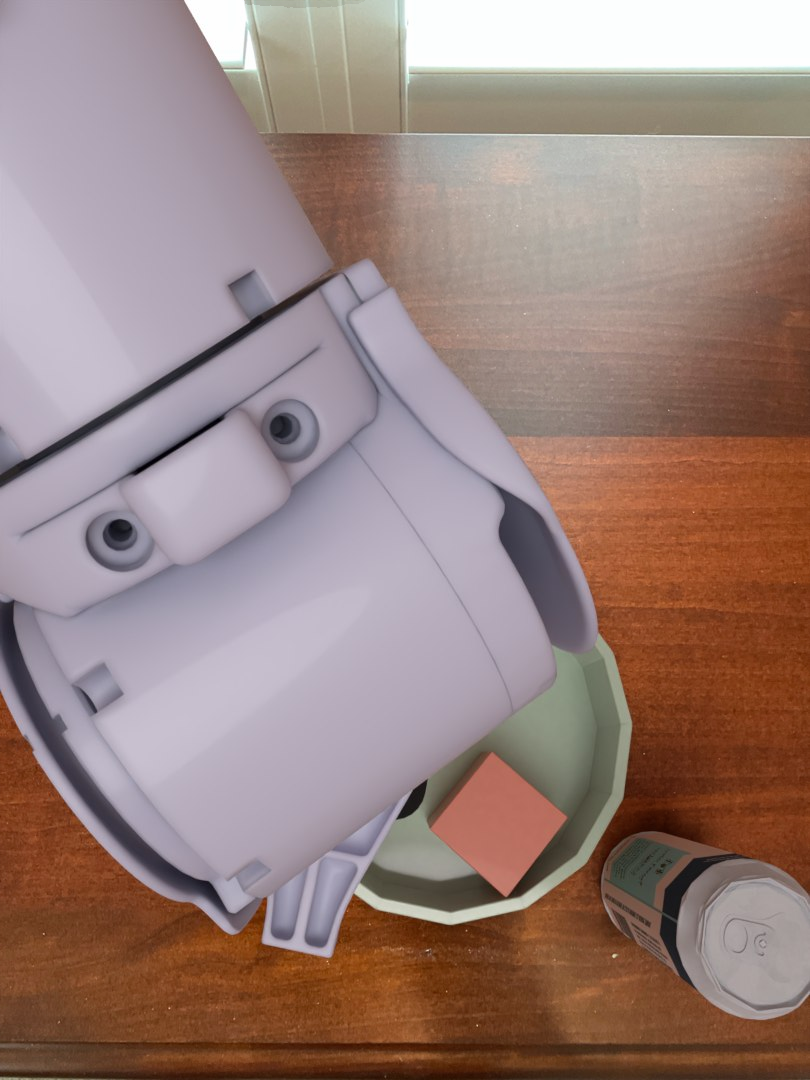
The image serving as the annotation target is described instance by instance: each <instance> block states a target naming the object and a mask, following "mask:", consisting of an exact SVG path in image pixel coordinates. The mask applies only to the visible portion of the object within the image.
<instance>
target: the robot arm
mask: <svg viewBox="0 0 810 1080" xmlns="http://www.w3.org/2000/svg"><path fill="white" fill-rule="evenodd" d="M334 266H335V264H334V262H333V260H332V258H331V257H330V255H329V253H328V251H327V250H326V247H325V246H324V244H323V242H322V241H321V239H320V237H319V236H318V234H317V232H316V230H315V228H314V226H313V224H312V223H311V221H310V220H309V218H308V215H307V214H306V213H305V211H304V209H303V207H302V205H301V203H300V202H299V200H298V199H297V196H296V195H295V193H294V191H293V189H292V188H291V186H290V185H289V183H288V181H287V179H286V177H285V175H284V174H283V172H282V170H281V169H280V167H279V165H278V164H277V162H276V160H275V158H274V156H273V154H272V153H271V151H270V149H269V148H268V146H267V144H266V142H265V141H264V139H263V137H262V135H261V133H260V132H259V130H258V128H257V125H256V124H255V123H254V121H253V119H252V117H251V116H250V114H249V112H248V110H247V109H246V107H245V105H244V103H243V101H242V100H241V97H240V96H239V95H238V93H237V91H236V89H235V88H234V86H233V84H232V82H231V80H230V79H229V77H228V75H227V73H226V71H225V70H224V68H223V66H222V64H221V63H220V61H219V59H218V58H217V56H216V54H215V52H214V50H213V49H212V47H211V45H210V43H209V41H208V40H207V38H206V36H205V35H204V32H203V31H202V30H201V28H200V25H199V24H198V22H197V20H196V19H195V17H194V15H193V14H192V12H191V10H190V9H189V7H188V5H187V3H186V1H185V0H0V692H1V693H0V694H1V695H2V697H3V699H4V701H5V705H6V706H7V709H8V711H9V712H10V715H11V717H12V719H13V720H14V723H15V724H16V726H17V728H18V730H19V732H20V734H21V736H22V738H24V739H25V740H26V741H27V742H28V743H29V745H30V747H31V748H32V752H31V753H32V754H33V757H34V758H35V760H36V761H37V763H38V764H39V766H40V768H41V769H42V770H43V772H44V773H45V775H46V776H47V778H48V779H49V781H50V782H51V784H52V785H53V787H54V788H55V789H56V791H57V792H58V794H59V795H60V796H61V798H62V799H63V800H64V803H65V804H66V805H67V806H68V808H69V809H70V810H71V811H72V813H73V814H74V815H75V816H76V817H77V818H78V820H79V821H80V822H81V823H82V825H83V826H84V827H85V828H86V830H87V831H88V833H90V834H91V835H92V836H93V837H94V839H95V840H96V841H97V842H98V844H100V846H102V848H104V850H105V851H106V852H107V853H108V854H109V855H110V856H111V857H112V858H113V859H114V860H115V861H117V863H118V864H119V865H120V866H121V867H122V868H124V869H125V870H126V871H127V872H128V873H130V874H131V875H132V876H133V877H134V878H135V879H137V880H138V881H140V883H142V884H143V885H144V886H146V887H147V888H149V890H152V891H153V892H155V893H156V894H159V895H160V896H162V897H164V898H166V899H169V900H172V901H173V902H179V903H191V904H193V905H195V906H196V907H197V908H199V909H200V910H202V911H203V912H204V913H205V914H206V915H207V916H208V917H209V918H210V919H211V920H212V921H213V922H214V923H215V924H216V925H217V926H218V927H219V928H220V929H221V930H222V931H224V932H225V933H227V934H228V935H232V936H234V935H238V934H239V933H241V932H242V931H243V930H244V929H245V927H246V926H247V925H248V924H249V922H250V921H251V920H252V918H253V917H254V916H255V915H256V912H257V911H258V909H259V907H260V906H261V904H262V902H263V900H264V898H266V911H265V919H264V923H263V931H262V935H261V943H262V944H263V945H265V946H271V947H276V948H281V949H285V950H290V951H294V952H299V953H304V954H307V955H312V956H318V957H323V958H327V959H330V958H332V957H333V954H334V951H335V949H336V945H337V942H338V939H339V933H340V929H341V924H342V920H343V918H344V915H345V913H346V910H347V908H348V905H349V903H350V902H351V900H352V898H353V896H354V895H355V894H354V892H355V890H356V888H357V886H358V884H359V883H360V881H361V879H362V877H363V876H364V874H365V872H366V870H367V869H368V867H369V865H370V863H371V862H372V860H373V858H374V857H375V855H376V853H377V851H378V850H379V848H380V846H381V844H382V843H383V841H384V839H385V837H386V836H387V834H388V832H389V831H390V829H391V827H392V825H393V824H394V822H395V820H398V819H403V818H406V817H408V816H410V815H412V814H413V813H414V812H415V811H416V810H417V809H418V808H419V806H420V805H421V803H422V802H423V799H424V796H425V792H426V787H427V781H428V778H429V777H431V776H432V775H433V774H435V773H436V772H437V771H439V770H440V769H441V768H443V767H444V766H446V765H447V764H448V763H450V762H451V761H452V760H454V759H455V758H456V757H458V756H459V755H460V754H462V753H463V752H464V751H466V750H467V749H468V748H470V747H471V746H473V745H474V744H475V743H477V742H478V741H479V740H481V739H482V738H483V737H485V736H486V735H487V734H489V733H490V732H491V731H493V730H494V729H495V728H497V727H498V726H500V725H501V724H502V723H504V722H505V721H506V720H508V719H509V718H510V717H512V716H513V715H514V714H516V713H517V712H518V711H520V710H521V709H522V708H524V707H525V706H526V705H528V704H529V703H531V702H532V701H533V700H535V699H536V698H537V697H539V696H540V695H541V694H543V693H544V692H545V691H547V690H548V689H549V688H551V687H552V686H553V685H554V683H555V680H556V677H557V666H556V661H555V656H554V652H553V648H552V645H553V646H555V647H557V648H559V649H561V650H563V651H566V652H569V653H572V654H584V653H587V652H589V651H590V650H591V649H592V648H593V647H594V646H595V643H596V641H597V636H598V632H599V623H598V615H597V609H596V606H595V602H594V599H593V595H592V592H591V589H590V586H589V582H588V580H587V577H586V575H585V573H584V570H583V568H582V565H581V563H580V561H579V558H578V556H577V553H576V551H575V550H574V547H573V546H572V544H571V542H570V540H569V537H568V536H567V534H566V531H565V530H564V528H563V525H562V524H561V521H560V520H559V517H558V515H557V512H556V511H555V509H554V507H553V505H552V503H551V501H550V499H549V498H548V496H547V495H546V493H545V491H544V490H543V488H542V487H541V485H540V483H539V482H538V480H537V479H536V477H535V475H534V474H533V473H532V470H531V469H530V468H529V467H528V465H527V464H526V462H525V460H524V459H523V458H522V456H521V455H520V453H519V452H518V449H516V447H515V446H514V444H513V443H512V442H511V440H510V439H509V438H508V437H507V435H506V434H505V433H504V431H503V430H502V428H501V427H500V426H499V425H498V423H497V422H496V420H495V419H494V418H493V417H492V415H491V414H490V413H489V412H488V410H487V409H486V408H485V406H484V405H483V404H482V403H481V402H480V400H479V399H478V398H477V396H475V395H474V393H473V391H472V390H470V389H469V388H468V386H467V385H466V384H465V383H464V382H463V380H462V379H460V377H459V376H458V375H457V374H456V373H455V372H454V371H453V370H452V369H451V367H449V366H448V364H447V363H446V362H445V361H444V360H443V359H442V358H441V356H440V355H439V354H438V353H437V351H436V350H435V349H434V348H433V347H432V345H431V344H430V343H429V342H428V340H427V339H426V337H425V336H424V334H423V333H422V332H421V331H420V329H419V327H418V326H417V324H416V323H415V321H414V320H413V318H412V317H411V315H410V313H409V311H408V310H407V308H406V306H405V304H404V303H403V301H402V299H401V298H400V296H399V294H398V292H397V290H396V288H395V287H394V286H392V285H391V286H390V285H389V284H388V283H387V282H386V280H385V279H384V278H383V275H382V274H381V272H380V270H379V269H378V267H377V266H376V265H375V263H374V262H373V260H371V259H369V258H368V257H366V258H363V259H361V260H358V261H356V262H354V263H352V264H350V265H347V266H345V267H343V268H340V269H338V270H336V271H333V272H331V273H330V274H327V275H325V276H323V277H321V276H322V275H324V274H325V273H327V272H328V271H329V270H331V269H332V268H333V267H334ZM319 277H320V278H319ZM551 644H552V645H551Z"/></svg>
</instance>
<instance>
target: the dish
mask: <svg viewBox="0 0 810 1080" xmlns="http://www.w3.org/2000/svg"><path fill="white" fill-rule="evenodd" d="M551 645H552V644H551ZM552 648H553V652H554V656H555V661H556V666H557V677H556V680H555V683H554V685H553V686H552V687H551V688H549V689H548V690H547V691H545V692H544V693H543V694H541V695H540V696H539V697H537V698H536V699H535V700H533V701H532V702H531V703H529V704H528V705H526V706H525V707H524V708H522V709H521V710H520V711H518V712H517V713H516V714H514V715H513V716H512V717H510V718H509V719H508V720H506V721H505V722H504V723H502V724H501V725H500V726H498V727H497V728H495V729H494V730H493V731H491V732H490V733H489V734H487V735H486V736H485V737H483V738H482V739H481V740H479V741H478V742H477V743H475V744H474V745H473V746H471V747H470V748H468V749H467V750H466V751H464V752H463V753H462V754H460V755H459V756H458V757H456V758H455V759H454V760H452V761H451V762H450V763H448V764H447V765H446V766H444V767H443V768H441V769H440V770H439V771H437V772H436V773H435V774H433V775H432V776H431V777H429V778H428V781H427V787H426V792H425V796H424V799H423V802H422V803H421V805H420V806H419V808H418V809H417V810H416V811H415V812H414V813H413V814H412V815H410V816H408V817H406V818H403V819H398V820H395V822H394V824H393V825H392V827H391V829H390V831H389V832H388V834H387V836H386V837H385V839H384V841H383V843H382V844H381V846H380V848H379V850H378V851H377V853H376V855H375V857H374V858H373V860H372V862H371V863H370V865H369V867H368V869H367V870H366V872H365V874H364V876H363V877H362V879H361V881H360V883H359V884H358V886H357V888H356V890H355V892H354V894H353V895H355V896H356V897H357V898H358V899H360V900H361V901H363V902H364V903H366V904H367V905H369V906H370V907H371V908H373V909H374V910H376V911H380V912H385V913H389V914H393V915H399V916H404V917H408V918H413V919H418V920H422V921H428V922H432V923H437V924H441V925H446V926H455V925H460V924H464V923H468V922H474V921H477V920H482V919H487V918H492V917H496V916H500V915H505V914H509V913H513V912H514V913H515V912H519V911H524V910H526V909H528V908H529V907H530V906H532V905H533V904H535V903H536V902H537V901H538V900H540V899H541V898H543V897H544V896H545V895H547V894H548V893H549V892H551V891H552V890H554V889H555V888H556V887H557V886H559V885H560V884H561V883H563V882H564V881H566V880H567V879H568V878H569V877H570V876H572V875H573V874H575V873H576V872H577V871H578V870H580V869H581V868H583V867H584V866H585V865H586V864H587V863H588V861H589V860H590V858H591V857H592V854H593V852H594V851H595V849H596V847H597V845H598V844H599V842H600V841H601V839H602V837H603V835H604V834H605V831H606V830H607V828H608V827H609V825H610V823H611V822H612V819H613V818H614V816H615V814H616V812H617V811H618V809H619V807H620V805H621V803H622V802H623V801H624V797H625V790H626V780H627V773H628V764H629V757H630V749H631V742H632V732H633V720H632V716H631V713H630V708H629V704H628V701H627V698H626V693H625V690H624V686H623V682H622V679H621V675H620V671H619V666H618V663H617V660H616V656H615V654H614V651H613V650H612V649H611V647H610V646H609V644H608V642H606V640H605V639H604V637H603V636H602V635H601V633H600V632H599V631H598V636H597V641H596V643H595V646H594V647H593V648H592V649H591V650H590V651H589V652H587V653H584V654H572V653H569V652H566V651H563V650H561V649H559V648H557V647H555V646H553V645H552ZM482 752H493V753H495V754H496V755H497V756H498V757H499V758H500V759H502V760H503V761H504V762H505V763H506V764H507V765H509V766H510V767H511V768H512V769H513V770H514V771H515V772H517V773H518V774H519V775H520V776H521V777H522V778H524V779H525V780H526V781H527V782H528V783H529V784H531V785H532V786H533V787H534V788H535V789H536V790H537V791H539V792H540V793H541V794H542V795H543V796H544V797H546V798H547V799H548V800H549V801H550V802H551V803H552V804H554V805H555V806H556V807H557V808H558V809H559V810H561V811H562V812H563V813H564V814H565V815H566V816H567V817H568V819H567V820H566V821H565V822H564V824H563V825H562V826H561V828H560V829H559V830H558V832H557V833H556V834H555V835H554V837H553V838H552V839H551V841H550V842H549V843H548V845H547V846H546V847H545V849H544V850H543V851H542V852H541V854H540V855H539V856H538V858H537V859H536V860H535V862H534V863H533V864H532V865H531V867H530V868H529V869H528V871H527V872H526V873H525V875H524V876H523V877H522V878H521V880H520V881H519V882H518V884H517V885H516V886H515V888H514V889H513V890H512V892H511V893H510V894H509V895H508V897H505V896H503V895H502V894H501V893H500V892H499V891H498V890H497V889H496V888H495V887H493V886H492V885H491V884H490V883H489V882H488V881H487V880H486V879H485V878H483V877H482V876H481V875H480V874H479V873H478V872H477V871H476V870H474V869H473V868H472V867H471V866H470V865H469V864H468V863H467V862H466V861H464V860H463V859H462V858H461V857H460V856H459V855H458V854H457V853H456V852H454V851H453V850H452V849H451V848H450V847H449V846H448V845H447V844H446V843H444V842H443V841H442V840H441V839H440V838H439V837H438V836H437V835H435V834H434V833H433V832H432V831H431V830H430V828H429V826H428V823H427V820H428V819H429V817H430V816H431V815H432V814H433V812H434V811H435V810H436V809H437V807H438V806H439V805H440V804H441V802H442V801H443V800H444V799H445V798H446V796H447V795H448V794H449V793H450V791H451V790H452V789H453V788H454V786H455V785H456V784H457V783H458V781H459V780H460V779H461V778H462V776H463V775H464V774H465V773H466V771H467V770H468V769H469V768H470V767H471V765H472V764H473V763H474V762H475V760H476V759H477V758H478V757H479V755H480V754H481V753H482Z"/></svg>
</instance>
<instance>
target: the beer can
mask: <svg viewBox="0 0 810 1080" xmlns="http://www.w3.org/2000/svg"><path fill="white" fill-rule="evenodd" d="M600 892H601V893H600V894H601V899H602V902H603V906H604V908H605V910H606V912H607V914H608V916H609V918H610V920H611V921H612V923H613V925H614V926H615V927H616V928H617V929H618V930H619V931H620V932H621V933H623V935H625V936H626V937H627V938H629V939H630V940H632V941H633V942H635V943H636V944H637V945H638V946H640V947H641V948H642V949H643V950H645V951H646V952H647V953H648V954H649V955H651V956H652V957H654V958H655V959H656V960H658V961H659V962H660V963H661V964H662V965H664V966H665V967H667V968H668V969H669V970H670V971H671V972H673V973H674V974H675V975H677V976H678V977H679V978H681V979H682V980H683V981H685V983H687V984H688V985H689V986H691V988H693V989H694V990H695V991H697V992H698V993H699V994H701V996H703V997H704V998H705V999H706V1000H707V1001H708V1002H709V1003H710V1004H712V1005H713V1006H715V1007H717V1008H718V1009H720V1010H722V1011H723V1012H724V1013H727V1014H729V1015H732V1016H735V1017H738V1018H742V1019H747V1020H755V1021H765V1020H770V1019H771V1020H772V1019H775V1018H779V1017H783V1016H785V1015H787V1014H790V1013H791V1012H793V1011H795V1010H796V1009H798V1008H799V1007H801V1005H802V1004H803V1003H804V1002H805V1001H806V999H807V998H808V997H809V995H810V894H809V893H808V892H807V891H806V890H805V889H804V888H803V886H802V885H801V884H800V883H799V882H798V880H796V879H795V878H794V877H793V876H791V875H790V874H789V873H787V872H786V871H784V870H782V869H781V868H779V867H777V866H776V865H774V864H772V863H768V862H765V861H762V860H760V859H757V858H753V857H749V856H747V855H742V854H739V853H735V852H732V851H728V850H725V849H721V848H718V847H714V846H711V845H708V844H707V845H706V844H705V843H702V842H701V843H700V842H697V841H693V840H690V839H686V838H683V837H680V836H677V835H673V834H669V833H666V832H662V831H653V830H651V831H641V832H638V833H634V834H631V835H629V836H627V837H626V838H624V839H622V840H621V841H620V842H619V843H618V844H617V845H616V846H615V847H614V848H613V849H611V851H610V853H609V855H608V856H607V858H606V860H605V862H604V865H603V869H602V872H601V880H600Z"/></svg>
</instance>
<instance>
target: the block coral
mask: <svg viewBox="0 0 810 1080" xmlns="http://www.w3.org/2000/svg"><path fill="white" fill-rule="evenodd" d="M567 819H568V817H567V816H566V815H565V814H564V813H563V812H562V811H561V810H559V809H558V808H557V807H556V806H555V805H554V804H552V803H551V802H550V801H549V800H548V799H547V798H546V797H544V796H543V795H542V794H541V793H540V792H539V791H537V790H536V789H535V788H534V787H533V786H532V785H531V784H529V783H528V782H527V781H526V780H525V779H524V778H522V777H521V776H520V775H519V774H518V773H517V772H515V771H514V770H513V769H512V768H511V767H510V766H509V765H507V764H506V763H505V762H504V761H503V760H502V759H500V758H499V757H498V756H497V755H496V754H495V753H493V752H482V753H481V754H480V755H479V757H478V758H477V759H476V760H475V762H474V763H473V764H472V765H471V767H470V768H469V769H468V770H467V771H466V773H465V774H464V775H463V776H462V778H461V779H460V780H459V781H458V783H457V784H456V785H455V786H454V788H453V789H452V790H451V791H450V793H449V794H448V795H447V796H446V798H445V799H444V800H443V801H442V802H441V804H440V805H439V806H438V807H437V809H436V810H435V811H434V812H433V814H432V815H431V816H430V817H429V819H428V820H427V823H428V826H429V828H430V830H431V831H432V832H433V833H434V834H435V835H437V836H438V837H439V838H440V839H441V840H442V841H443V842H444V843H446V844H447V845H448V846H449V847H450V848H451V849H452V850H453V851H454V852H456V853H457V854H458V855H459V856H460V857H461V858H462V859H463V860H464V861H466V862H467V863H468V864H469V865H470V866H471V867H472V868H473V869H474V870H476V871H477V872H478V873H479V874H480V875H481V876H482V877H483V878H485V879H486V880H487V881H488V882H489V883H490V884H491V885H492V886H493V887H495V888H496V889H497V890H498V891H499V892H500V893H501V894H502V895H503V896H505V897H508V895H509V894H510V893H511V892H512V890H513V889H514V888H515V886H516V885H517V884H518V882H519V881H520V880H521V878H522V877H523V876H524V875H525V873H526V872H527V871H528V869H529V868H530V867H531V865H532V864H533V863H534V862H535V860H536V859H537V858H538V856H539V855H540V854H541V852H542V851H543V850H544V849H545V847H546V846H547V845H548V843H549V842H550V841H551V839H552V838H553V837H554V835H555V834H556V833H557V832H558V830H559V829H560V828H561V826H562V825H563V824H564V822H565V821H566V820H567Z"/></svg>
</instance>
